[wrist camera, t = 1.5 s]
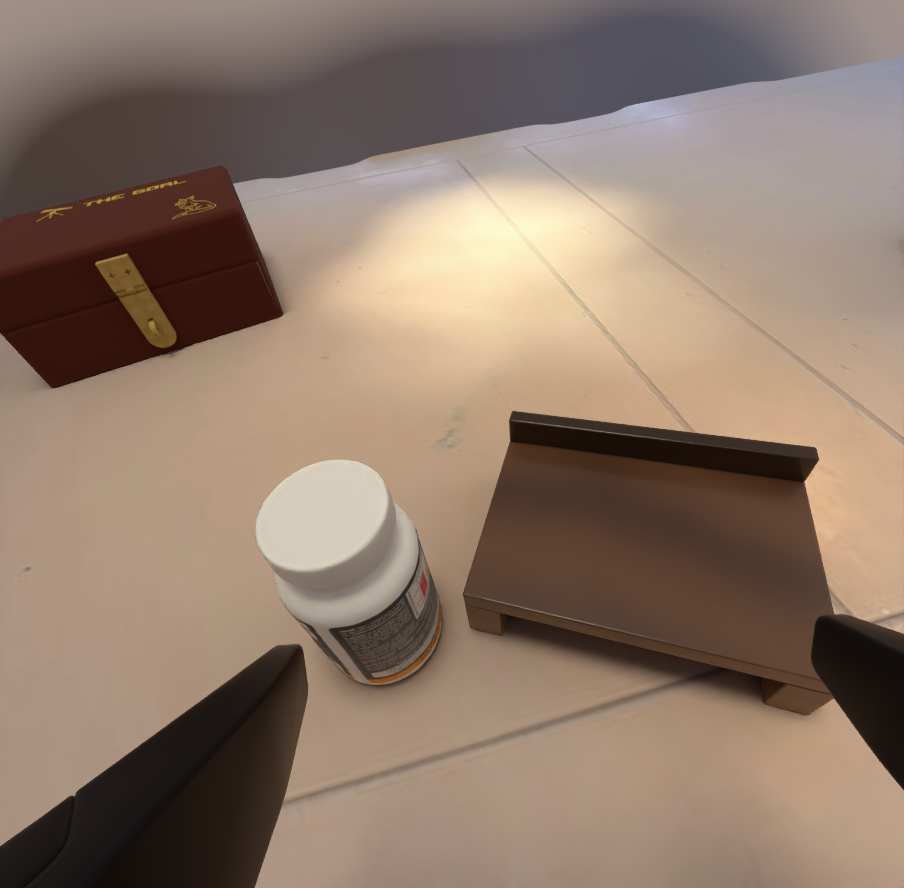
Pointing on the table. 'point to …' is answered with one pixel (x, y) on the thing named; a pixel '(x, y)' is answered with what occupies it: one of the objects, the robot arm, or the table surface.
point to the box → (130, 275)
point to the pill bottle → (351, 570)
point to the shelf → (658, 547)
